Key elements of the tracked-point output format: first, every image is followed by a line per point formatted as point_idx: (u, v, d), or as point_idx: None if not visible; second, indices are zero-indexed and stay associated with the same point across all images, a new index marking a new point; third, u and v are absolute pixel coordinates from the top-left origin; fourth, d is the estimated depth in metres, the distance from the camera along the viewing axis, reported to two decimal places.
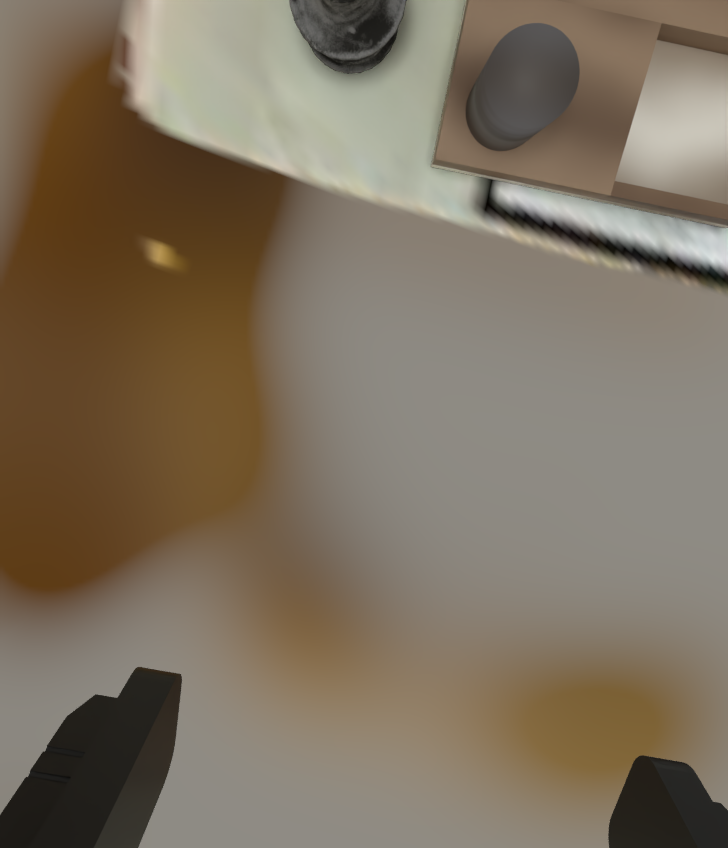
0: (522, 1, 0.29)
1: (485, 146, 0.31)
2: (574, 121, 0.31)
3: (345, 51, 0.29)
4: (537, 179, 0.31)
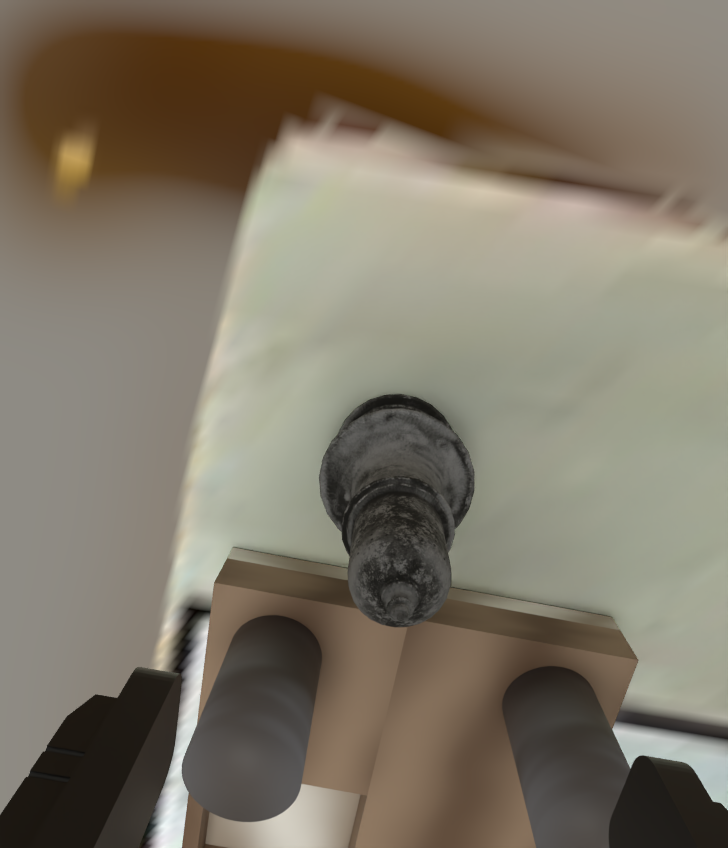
0: (388, 668, 0.25)
1: (231, 639, 0.25)
2: None
3: (327, 482, 0.22)
4: (202, 692, 0.26)
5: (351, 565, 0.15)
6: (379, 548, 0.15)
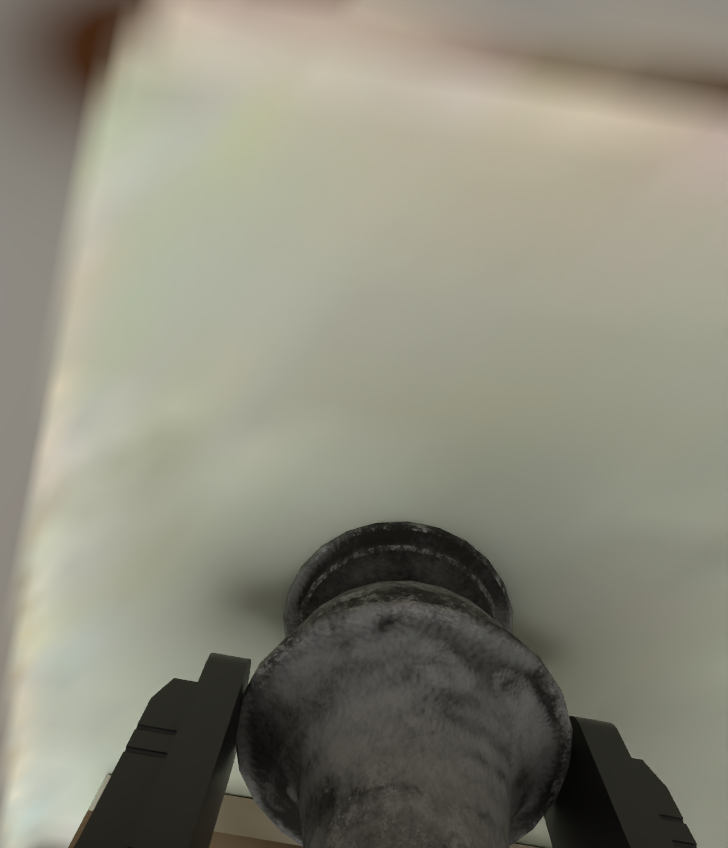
0: None
1: None
2: None
3: (253, 749, 0.10)
4: None
5: None
6: None
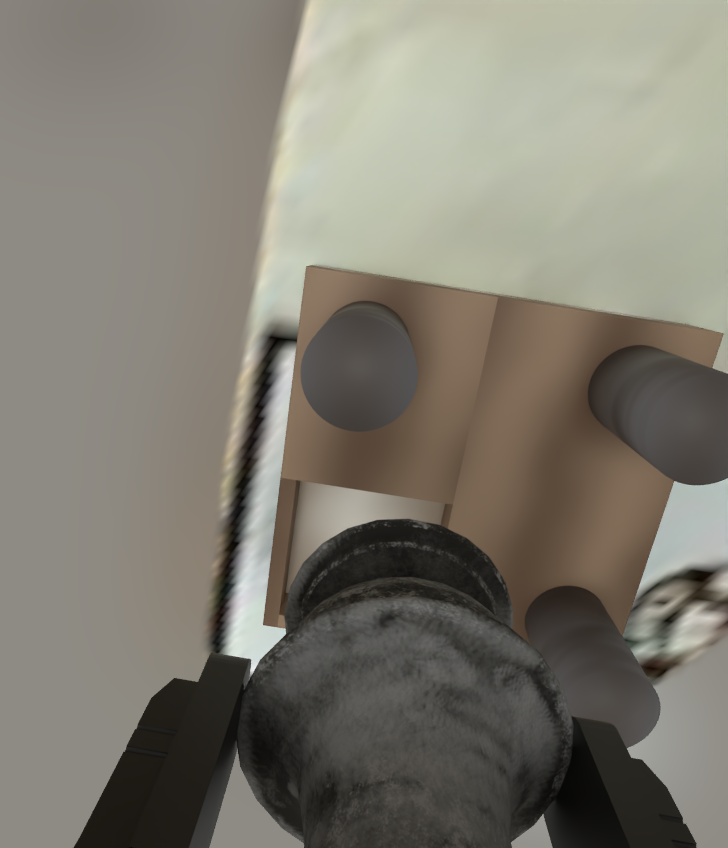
0: (476, 357, 0.25)
1: None
2: None
3: (253, 746, 0.10)
4: (291, 394, 0.26)
5: None
6: None
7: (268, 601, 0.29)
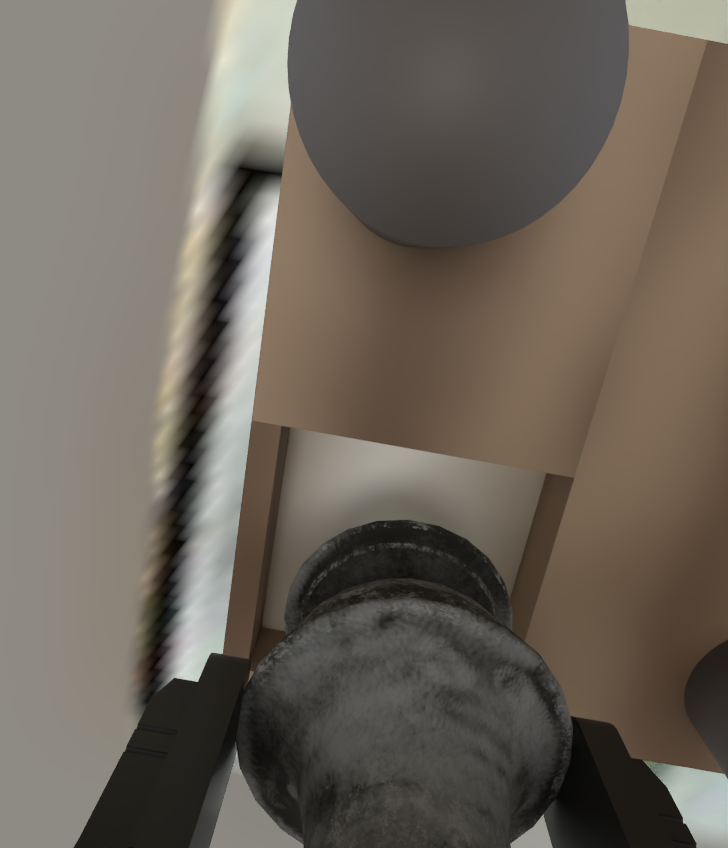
0: (649, 176, 0.13)
1: None
2: (397, 324, 0.14)
3: (253, 747, 0.10)
4: (274, 253, 0.13)
5: None
6: None
7: (228, 647, 0.16)
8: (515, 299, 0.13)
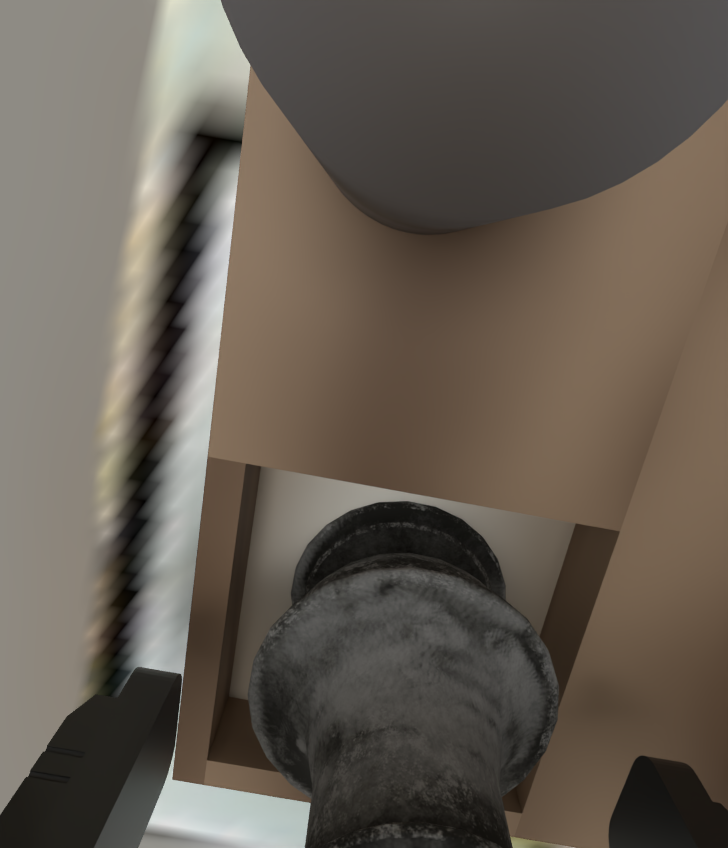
0: None
1: None
2: (394, 335, 0.10)
3: (264, 706, 0.11)
4: (234, 240, 0.10)
5: None
6: None
7: (183, 732, 0.13)
8: (550, 303, 0.10)
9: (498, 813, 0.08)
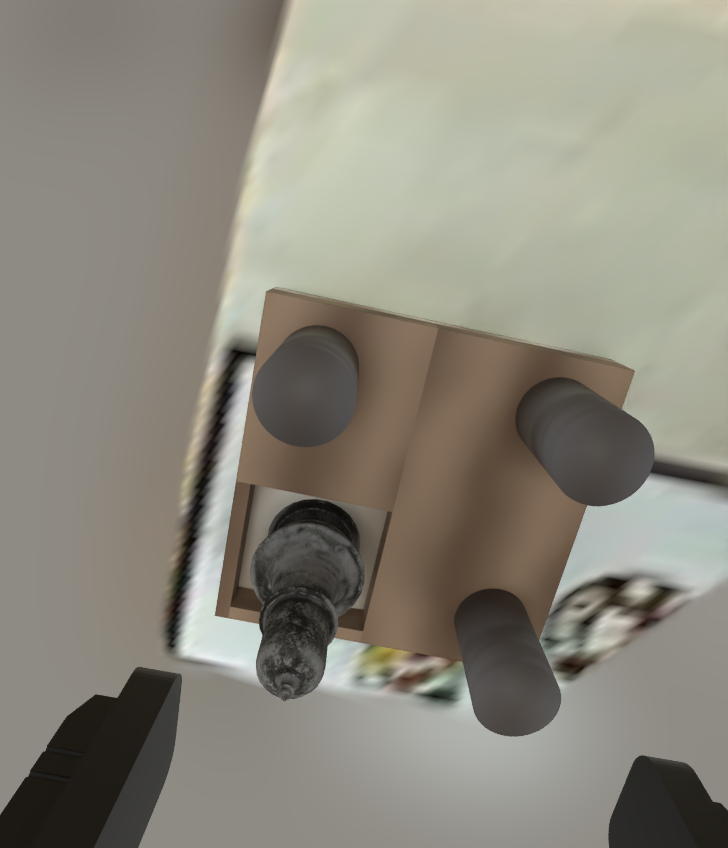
0: (417, 380, 0.28)
1: None
2: None
3: (256, 574, 0.29)
4: (248, 406, 0.29)
5: (257, 658, 0.23)
6: (274, 649, 0.23)
7: (220, 594, 0.32)
8: (360, 430, 0.29)
9: (328, 593, 0.27)
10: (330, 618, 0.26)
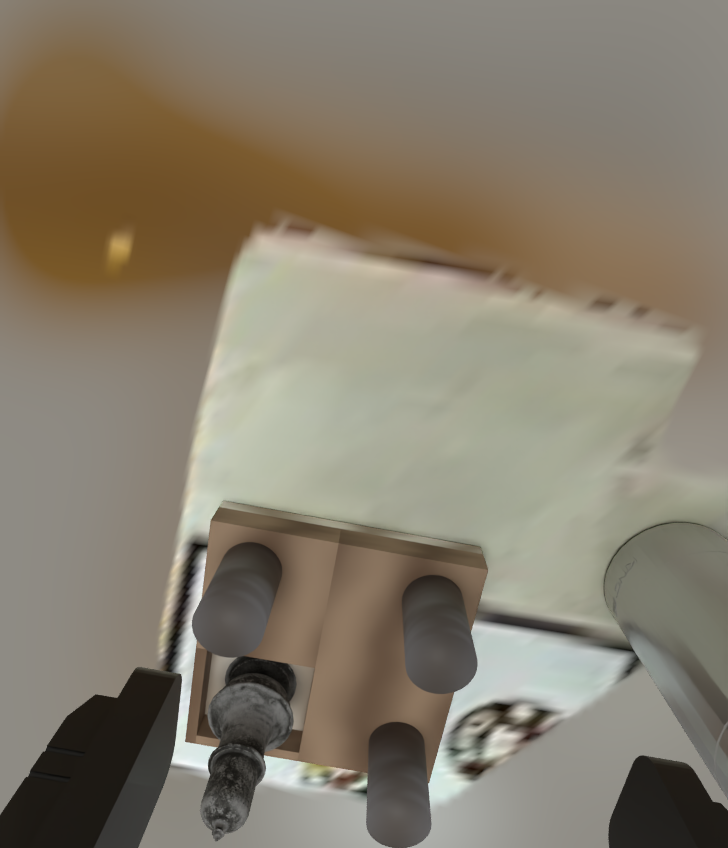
0: (326, 578, 0.38)
1: (222, 558, 0.37)
2: None
3: (212, 718, 0.39)
4: (202, 596, 0.38)
5: (201, 805, 0.33)
6: (211, 801, 0.32)
7: (188, 726, 0.42)
8: (286, 612, 0.39)
9: (259, 743, 0.36)
10: (258, 765, 0.35)
